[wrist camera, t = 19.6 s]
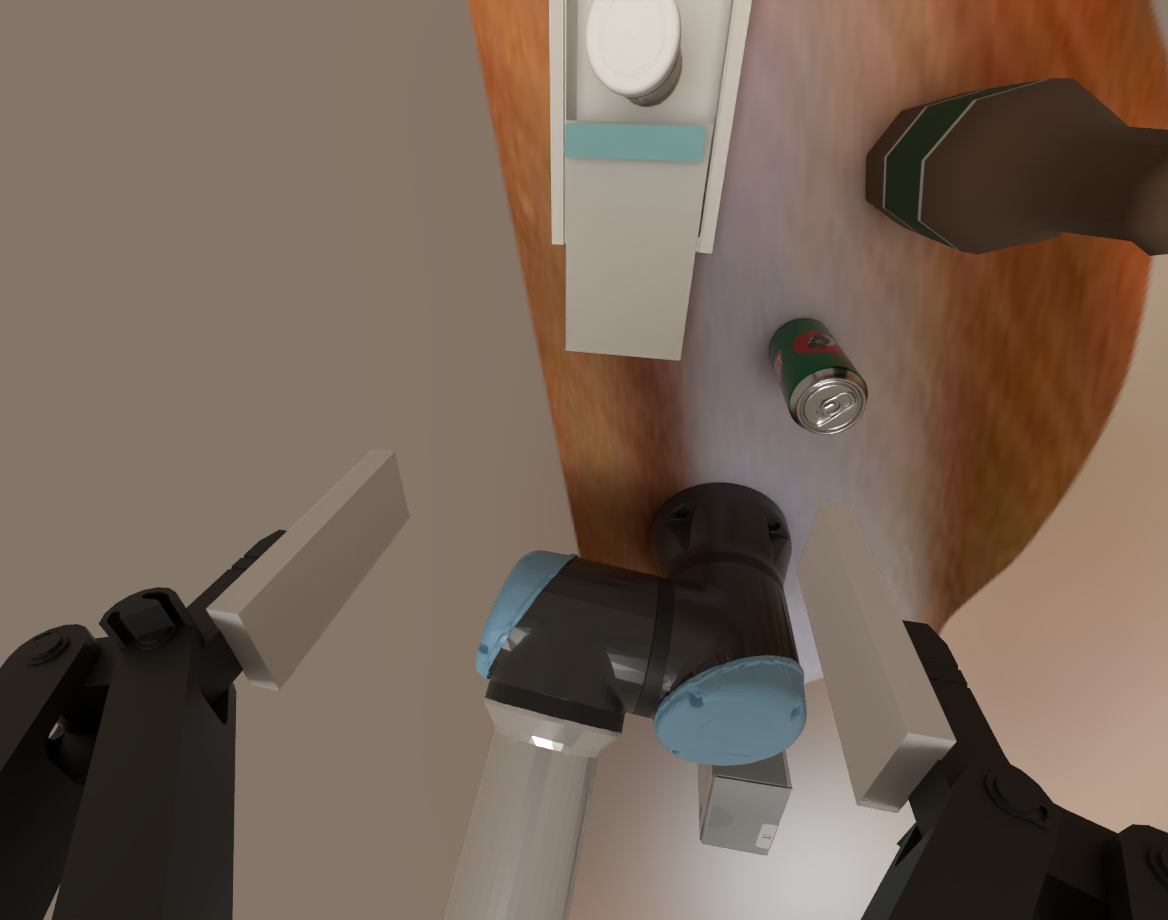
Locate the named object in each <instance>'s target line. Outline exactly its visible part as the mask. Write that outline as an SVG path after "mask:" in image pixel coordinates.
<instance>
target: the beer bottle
mask: <svg viewBox="0 0 1168 920" xmlns="http://www.w3.org/2000/svg"><path fill="white" fill-rule="evenodd" d="M866 200H867V201H868V202H870V203H871V204H872V205H874V206H875V207H876V208H878V209H879V210H880V211H882V212H883V213H884V214H886V215H887V216H888V217H890V218H891V219H892V220H894V221H895V222H897V223H898V224H900V225H901V226H903V227H904V228H907V229H909V230H912V231H914V232H916V233H919V234H921V235H924V236H926V237H928V238H931V239H933V240H936V241H938V242H940V243H943V244H945V245H948V246H950V247H952V248H955V249H957V250H960V251H964V252H968V253H973V254H981V253H986V252H990V251H995V250H1000V249H1005V248H1009V247H1014V246H1019V245H1023V244H1028V243H1033V242H1038V241H1042V240H1046V239H1050V238H1053V237H1057V236H1059V235H1060V234H1061V233H1062V232H1068V233H1075V234H1082V235H1090V236H1097V237H1104V238H1112V239H1119V240H1126V241H1132V242H1133V243H1135V244H1136V245H1137V246H1138V247H1140V248H1141V249H1142V250H1143V251H1144V252H1146V253H1147V254H1148V255H1149V256H1152V255H1161V254H1168V130H1163V129H1150V128H1138V127H1127V124H1126V123H1125V122H1123V121H1122V120H1121V119H1120V118H1119V117H1118V116H1116V115H1115V114H1114V113H1113V112H1112V111H1111V110H1109V109H1108V108H1107V107H1106V106H1105V105H1104V104H1102V103H1101V102H1100V101H1099V100H1098V99H1096V98H1095V97H1094V96H1093V95H1092V94H1091V93H1089V92H1088V91H1087V90H1086V89H1085V88H1084V87H1082V86H1081V85H1080V84H1079V83H1078V82H1077V81H1075V80H1074V79H1073V78H1068V79H1045V80H1039V81H1033V82H1027V83H1021V84H1015V85H1009V86H1003V87H997V88H991V89H985V90H979V91H973V92H967V93H963V94H959V95H956V96H952V97H949V98H946V99H942V100H939V101H935V102H932V103H929V104H925V105H922V106H918V107H915V108H912V109H908V110H905V111H902V112H901V113H900V114H899V116H898V117H897V118H896V119H895V121H894V122H893V123H892V125H891V126H890V127H889V128H888V130H887V131H886V132H885V133H884V135H883V136H882V137H881V138H880V140H879V141H878V142H877V144H876V145H875V146H874V147H873V149H872V150H871V151H870V152H869V154H868V155H867V187H866Z"/></svg>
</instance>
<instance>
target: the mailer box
mask: <svg viewBox="0 0 1168 920" xmlns="http://www.w3.org/2000/svg"><path fill="white" fill-rule="evenodd" d="M592 2H593V0H549V46H550V126H551V206H552V244H559V245H564V244H566V157H565V123H566V120H578V121H620V122H663V123H705V124H713V131H712V138H711V146H710V153H709V160H708V167H707V174H706V181H705V188H704V195H703V203H702V210H701V217H700V224H699V231H698V238H697V245H696V252H699V253H711V254H712V250H713V243H714V237H715V231H716V224H717V218H718V212H719V205H720V199H721V193H722V186H723V180H724V174H725V167H726V161H727V155H728V148H729V142H730V136H731V129H732V123H733V117H734V110H735V104H736V98H737V91H738V85H739V79H740V72H741V66H742V60H743V53H744V47H745V41H746V35H747V28H748V22H749V16H750V9H751V3H752V0H676V2H677V5H678V9H679V12H680V18H681V44H680V45H681V53H682V71H681V75H680V79H679V82H678V84H677V86H676V88H675V90H674V91H673V93H672V94H671V95H670V96H669V97H668V98H667V99H666V100H664V101H663V102H662V103H661V104H658V105H655V106H651V107H641V106H638V105H635V104H633V103H632V102H631V101H630V100H628V99H627V98H626V97H624V96H621V95H618V94H616V93H614V92H612V91H611V90H609V89H608V88H607V87H606V86H604V85H603V84H602V83H601V82H600V80H599V79H598V78H597V77H596V75H595V74H594V72H593V70H592V68H591V66H590V63H589V60H588V57H587V53H586V47H585V25H586V20H587V15H588V12H589V9H590V6H591V4H592Z"/></svg>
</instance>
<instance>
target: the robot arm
mask: <svg viewBox="0 0 1168 920" xmlns="http://www.w3.org/2000/svg"><path fill="white" fill-rule="evenodd" d="M409 518H410V516H409V512H408V508H407V503H406V499H405V494H404V490H403V485H402V481H401V477H400V472H399V468H398V463H397V459H396V454H395V452H394V451H385V450H377V449H373V450H371V451H370V452H369V453H368V454H367V455H366V456H365V457H364V458H363V459H362V460H361V461H360V462H359V463H358V464H357V465H356V466H355V467H354V468H353V469H352V470H351V471H349V472H348V473H347V474H346V475H345V476H344V477H343V478H342V479H341V480H340V481H339V482H338V483H337V484H336V485H335V486H334V487H333V488H332V489H331V490H330V491H329V492H328V493H326V494H325V496H323V497H322V498H321V499H320V500H319V501H318V502H317V503H316V504H315V505H314V506H313V507H312V508H311V509H310V510H309V511H308V512H307V513H306V514H305V515H303V516H302V517H301V518H300V519H299V520H298V521H297V522H296V523H295V524H294V525H293V526H292V527H291V528H290V529H289V530H288V531H284V530H278V531H276V532H275V533H273V534H271V535H269V536H267V537H266V538H264V539H262V540H260V541H259V542H258V543H257V544H256V545H254V546H253V547H252V548H251V549H250V550H249V551H248V552H247V553H246V554H245V555H244V558H240V559H239V560H238V561H237V562H236V563H235V564H234V565H233V566H232V568H231V570H229V569H228V570H227V571H226V572H225V573H224V574H223V575H222V576H221V577H220V578H219V579H217V580H216V581H215V582H214V583H213V584H212V585H211V586H210V587H209V588H208V589H207V590H205V592H204V593H202V594H201V595H200V596H199V597H198V598H197V599H196V600H195V601H194V602H192V603H191V604H190V605H189V606H188V607H187V608H185V606H184V604H183V603H182V601H181V600H180V598H179V597H178V595H177V593H176V592H174V591H173V590H171V589H170V588H159V587H157V588H152V589H147V590H143V591H140V592H138V593H135V594H133V595H130V596H128V597H126V598H125V599H123V600H122V601H120V602H118V603H116V604H115V605H114V606H113V607H112V608H110V610H108V611H107V612H106V613H105V614H104V616H103V617H102V619H101V621H100V622H99V625H100V626H101V627H102V628H103V630H104V631H105V632H106V633H107V635H108V636H109V637H104V638H96V639H95V638H94V637H93V636H92V634H91V633H90V632H89V631H88V629H86V627H84V626H81V625H78V624H74V625H63V626H60V627H57V628H53V629H50V630H48V631H45V632H43V633H41V634H39V635H37V636H35V637H33V638H32V639H30V640H29V641H27V642H26V643H24V644H23V645H21V646H20V647H19V648H18V649H17V650H16V651H15V652H14V653H12V655H10V656H9V658H8V659H7V660H6V661H5V663H4V664H3V665H2V666H1V668H0V920H43V919H44V916H45V914H46V912H47V910H48V908H49V906H50V904H51V902H52V900H53V898H54V895H55V893H56V891H57V889H58V887H59V885H60V888H59V892H58V896H57V901H56V904H55V909H54V912H53V916H52V920H232V909H233V851H234V793H235V734H236V730H235V729H236V690H235V686H234V684H233V681H234V680H235V679H236V678H237V676H238V675H239V674H240V673H241V672H242V671H243V672H244V674H245V675H246V677H247V678H248V680H249V682H250V684H251V685H253V686H258V687H264V688H268V689H273V690H278V691H280V689H281V688H282V687H283V686H284V684H285V683H286V682H287V680H288V679H289V678H290V676H291V675H292V674H293V672H294V671H295V670H296V668H297V667H298V666H299V664H300V663H301V662H302V660H303V659H304V658H305V656H306V655H307V654H308V652H309V651H310V650H311V648H312V647H313V646H314V644H315V643H316V641H317V640H318V639H319V638H320V636H321V635H322V634H323V632H324V631H325V630H326V628H327V627H328V626H329V624H330V623H331V622H332V620H333V619H334V618H335V616H336V615H337V614H338V612H339V611H340V610H341V608H342V607H343V606H344V604H345V603H346V602H347V600H348V599H349V598H350V596H351V595H352V594H353V592H354V591H355V590H356V588H357V587H358V586H359V584H360V583H361V582H362V580H363V579H364V577H365V576H366V575H367V574H368V572H369V571H370V570H371V569H372V567H373V566H374V565H375V563H376V562H377V561H378V559H379V558H380V556H381V555H382V554H383V552H384V551H385V550H386V549H387V547H388V546H389V545H390V543H391V542H392V541H393V539H394V538H395V537H396V535H397V534H398V533H399V531H400V530H401V529H402V527H403V526H404V525H405V523H406V522H407V521H408V519H409ZM651 551H652V556H653V559H654V562H655V564H656V567H657V570H658V572H659V575H660V577H658V576H654V575H650V574H646V573H642V572H638V571H633V570H629V569H625V568H621V567H616V566H612V565H608V564H604V563H600V562H595V561H591V560H587V559H583V558H579V557H578V555H575V554H571V555H564V554H558V553H552V552H547V551H540V550H539V551H533V552H530V553H528V554H526V555H525V556H523V557H522V558H521V559H520V560H519V561H518V563H517V564H516V565H515V566H514V568H513V569H512V570H511V572H510V574H509V575H508V577H507V579H506V580H505V582H504V584H503V586H502V588H501V590H500V592H499V594H498V596H497V598H496V601H495V602H494V605H493V607H492V609H491V612H490V614H489V617H488V619H487V622H486V624H485V627H484V630H483V633H482V637H481V640H482V641H481V644H480V646H479V649H478V652H477V655H476V662H475V666H476V670H477V672H478V673H479V674H481V675H482V677H483V678H485V679H490V682H489V685H488V689H487V692H486V696H485V700H484V703H485V705H486V707H487V709H488V711H489V713H490V716H491V717H492V720H493V722H494V726H495V733H494V736H493V740H492V743H491V747H490V751H489V755H488V758H487V762H486V765H485V769H484V773H483V776H482V780H481V784H480V787H479V791H478V795H477V799H476V802H475V806H474V810H473V813H472V817H471V821H470V824H469V828H468V832H467V835H466V839H465V843H464V846H463V850H462V854H461V858H460V861H459V865H458V868H457V872H456V876H455V879H454V883H453V887H452V890H451V894H450V898H449V901H448V905H447V909H446V912H445V916H444V920H568V918H569V913H570V907H571V902H572V896H573V891H574V885H575V880H576V875H577V869H578V864H579V859H580V853H581V847H582V842H583V836H584V831H585V826H586V821H587V815H588V810H589V804H590V799H591V793H592V788H593V783H594V777H595V771H596V766H597V760H598V757H599V755H600V754H601V753H602V751H603V750H605V749H606V748H607V747H608V746H610V745H611V744H612V743H614V742H615V741H616V740H618V739H619V738H620V737H621V734H622V728H623V722H624V716H625V713H626V712H628V713H633V714H637V715H640V716H644V717H648V718H652V719H653V724H654V729H655V731H656V734H657V738H658V739H659V741H660V743H661V744H662V745H663V747H664V748H666V749H667V750H672V752H673V753H674V754H675V755H676V756H678V757H680V758H682V759H685V760H688V761H691V762H695V763H699V764H706V765H718V766H729V765H741V764H748V763H753V762H756V761H759V760H764V759H767V758H770V757H772V756H774V755H777V754H778V753H780V752H782V751H784V750H785V749H787V748H788V747H789V746H791V745H792V744H793V743H794V742H795V741H796V740H797V738H798V737H799V736H800V735H801V732H802V731H803V729H804V726H805V723H806V718H807V709H806V700H805V692H804V684H803V683H804V672H803V669H802V667H801V666H800V663H799V658H798V654H797V649H796V644H795V640H794V635H793V631H792V626H791V621H790V617H789V612H788V608H787V603H786V599H785V594H784V589H783V585H784V581H785V577H786V573H787V568H788V564H789V560H790V556H791V537H790V533H789V529H788V525H787V522H786V519H785V517H784V515H783V513H782V512H781V510H780V509H779V508H778V507H777V506H776V505H775V504H774V503H773V502H772V501H771V500H770V499H768V498H767V497H766V496H764V495H762V494H761V493H759V492H757V491H754V490H752V489H749V488H746V487H743V486H738V485H733V484H706V485H700V486H696V487H693V488H690V489H687V490H685V491H682V492H680V493H679V494H677V495H675V496H674V497H672V498H671V499H670V500H668V501H667V502H666V503H665V504H664V505H663V506H662V507H661V509H660V510H659V511H658V513H657V515H656V517H655V519H654V522H653V526H652V535H651ZM797 573H798V577H799V581H800V585H801V589H802V593H803V597H804V601H805V605H806V608H807V612H808V616H809V620H810V624H811V628H812V632H813V636H814V640H815V644H816V647H817V651H818V655H819V659H820V663H821V667H822V671H823V675H824V679H825V683H826V686H827V690H828V694H829V698H830V702H831V706H832V710H833V714H834V718H835V721H836V725H837V729H838V733H839V737H840V741H841V745H842V749H843V753H844V756H845V760H846V764H847V768H848V772H849V776H850V780H851V784H852V788H853V792H854V795H855V799H856V803H857V805H859V806H864V807H869V808H874V809H879V810H884V811H889V812H894V813H898V812H899V810H900V809H901V808H902V807H903V806H904V804H905V803H906V802H907V801H908V800H909V802H910V805H911V808H912V811H913V814H914V817H915V820H916V823H915V824H914V825H913V826H912V827H911V828H910V830H909V831H908V832H907V833H906V834H905V835H904V836H903V837H902V839H901V840H900V841H899V842H898V843H897V844H898V845H899V846H900V849H899V851H898V853H897V854H896V856H895V859H894V860H893V862H892V864H891V865H890V867H889V869H888V871H887V873H886V874H885V876H884V878H883V880H882V882H881V884H880V885H879V887H878V889H877V891H876V893H875V894H874V896H873V898H872V900H871V902H870V904H869V905H868V907H867V909H866V911H865V913H864V915H863V917H862V918H861V920H1168V833H1166V832H1164V831H1161V830H1159V829H1156V828H1154V827H1151V826H1149V825H1134V824H1133V825H1131V826H1129V827H1127V828H1126V829H1124V830H1123V831H1121V832H1120V833H1116V832H1113V831H1111V830H1109V829H1107V828H1105V827H1102V826H1100V825H1098V824H1096V823H1094V822H1092V821H1090V820H1087V819H1085V818H1083V817H1081V816H1079V815H1076V814H1074V813H1072V812H1070V811H1068V810H1066V809H1063V808H1062V807H1060V806H1058V805H1056V804H1054V803H1053V802H1052V801H1051V799H1050V798H1049V797H1048V796H1047V794H1046V793H1045V792H1044V791H1043V789H1042V788H1041V787H1040V786H1039V785H1038V784H1037V783H1036V782H1035V781H1034V780H1033V779H1031V778H1030V777H1029V776H1028V775H1027V774H1026V773H1024V772H1023V771H1022V770H1020V769H1018V768H1017V767H1015V766H1013V765H1011V764H1010V763H1009V761H1008V760H1007V758H1006V757H1005V755H1004V753H1003V751H1002V749H1001V747H1000V745H999V743H998V742H997V740H996V738H995V736H994V734H993V732H992V730H991V728H990V726H989V724H988V722H987V721H986V718H985V717H984V715H983V713H982V711H981V709H980V707H979V705H978V703H977V701H976V699H975V697H974V695H973V694H972V692H971V690H970V688H967V682H966V680H965V678H964V676H963V674H962V672H961V671H960V670H958V665H957V663H956V661H955V659H954V657H953V655H952V653H951V651H950V650H949V648H948V645H947V644H946V643H945V642H944V641H943V640H942V639H941V638H940V637H939V636H938V634H937V633H936V632H935V631H934V630H933V629H932V628H931V627H930V626H929V625H928V624H924V623H917V622H911V621H904V620H902V619H901V617H900V615H899V613H898V610H897V608H896V606H895V604H894V602H893V599H892V597H891V595H890V593H889V591H888V588H887V586H886V584H885V582H884V580H883V577H882V575H881V573H880V571H879V568H878V566H877V564H876V562H875V560H874V557H873V555H872V553H871V551H870V549H869V546H868V544H867V542H866V540H865V537H864V535H863V533H862V531H861V529H860V526H859V524H858V522H857V520H856V518H855V515H854V513H853V511H852V509H851V507H850V505H843V504H834V503H826V502H821V505H820V508H819V511H818V513H817V516H816V519H815V522H814V525H813V527H812V530H811V533H810V536H809V539H808V541H807V544H806V547H805V550H804V552H803V555H802V558H801V561H800V564H799V566H798V569H797ZM56 723H57V724H58V725H59V726H58V727H57V729H56V731H55V732H54V734H53V735H52V736H51V737H50V738H48V737H49V735H50V732H51V731H52V729H53V727H54V726H55V724H56ZM60 883H61V884H60Z"/></svg>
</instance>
